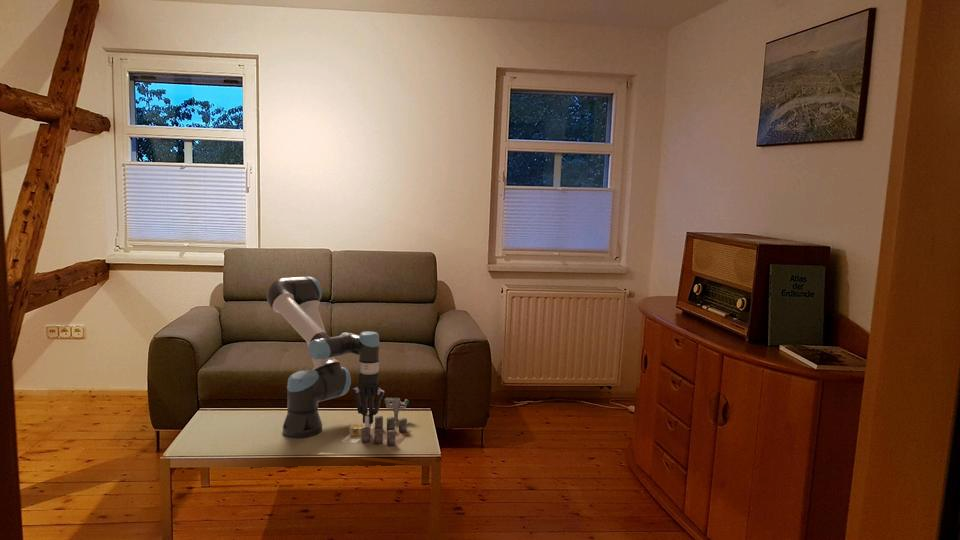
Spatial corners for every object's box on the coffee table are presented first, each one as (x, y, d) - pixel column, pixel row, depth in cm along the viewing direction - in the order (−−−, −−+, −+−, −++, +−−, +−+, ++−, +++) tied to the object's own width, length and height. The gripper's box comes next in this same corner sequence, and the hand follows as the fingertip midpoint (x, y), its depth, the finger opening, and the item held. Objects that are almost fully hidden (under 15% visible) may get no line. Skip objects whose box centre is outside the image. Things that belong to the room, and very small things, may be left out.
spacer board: (341, 443, 230) (341, 428, 229) (359, 427, 247) (359, 413, 247) (397, 449, 226) (397, 434, 225) (411, 433, 243) (411, 418, 243)
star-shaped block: (345, 435, 235) (346, 428, 235) (353, 430, 242) (353, 422, 242) (362, 437, 234) (362, 430, 234) (369, 431, 240) (369, 424, 240)
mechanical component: (407, 423, 254) (408, 400, 253) (383, 422, 254) (383, 399, 253) (408, 421, 257) (409, 398, 256) (384, 420, 257) (384, 397, 256)
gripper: (349, 373, 232) (348, 433, 234) (381, 375, 230) (380, 436, 232) (356, 368, 240) (355, 426, 242) (388, 371, 237) (387, 429, 239)
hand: (367, 431), depth 237 cm, fingers closed
